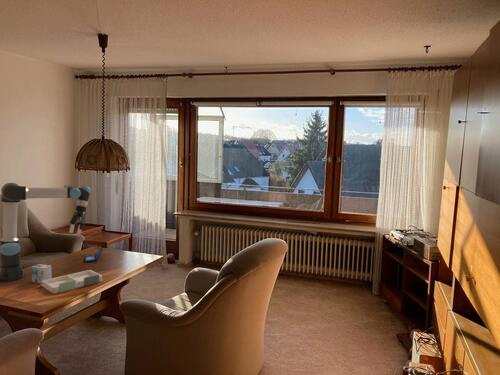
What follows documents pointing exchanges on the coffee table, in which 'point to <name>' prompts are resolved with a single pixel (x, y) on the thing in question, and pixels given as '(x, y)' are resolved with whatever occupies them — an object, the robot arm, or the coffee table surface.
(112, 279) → the coffee table surface
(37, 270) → the light bulb box
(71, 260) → the coffee table surface
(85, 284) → the tagged dock
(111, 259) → the coffee table surface
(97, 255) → the handheld game console
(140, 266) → the coffee table surface
